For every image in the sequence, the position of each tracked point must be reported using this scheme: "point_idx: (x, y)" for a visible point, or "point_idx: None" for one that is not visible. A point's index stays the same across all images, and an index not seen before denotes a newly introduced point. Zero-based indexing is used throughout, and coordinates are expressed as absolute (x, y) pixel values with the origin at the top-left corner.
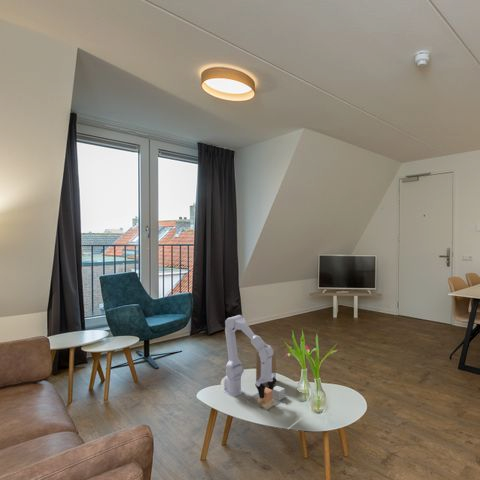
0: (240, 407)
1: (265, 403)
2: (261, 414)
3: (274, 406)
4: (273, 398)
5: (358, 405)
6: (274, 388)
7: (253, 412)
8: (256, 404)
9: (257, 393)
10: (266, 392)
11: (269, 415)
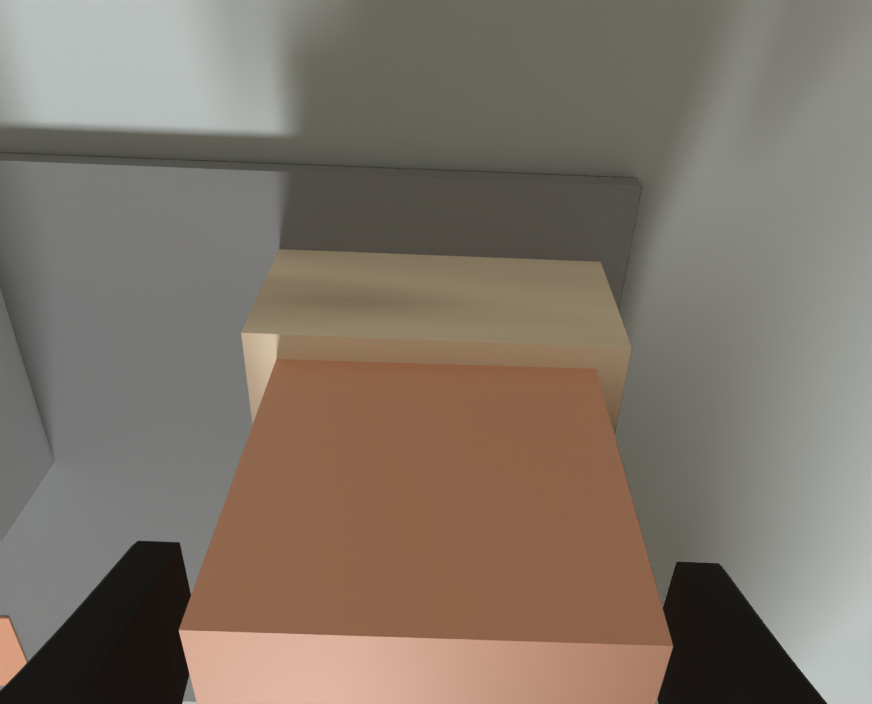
0: (801, 652)
1: (617, 389)
2: (866, 242)
3: (333, 189)
4: (46, 415)
5: None
6: None
7: (864, 419)
8: None
9: (189, 695)
10: (601, 692)
11: (815, 40)
